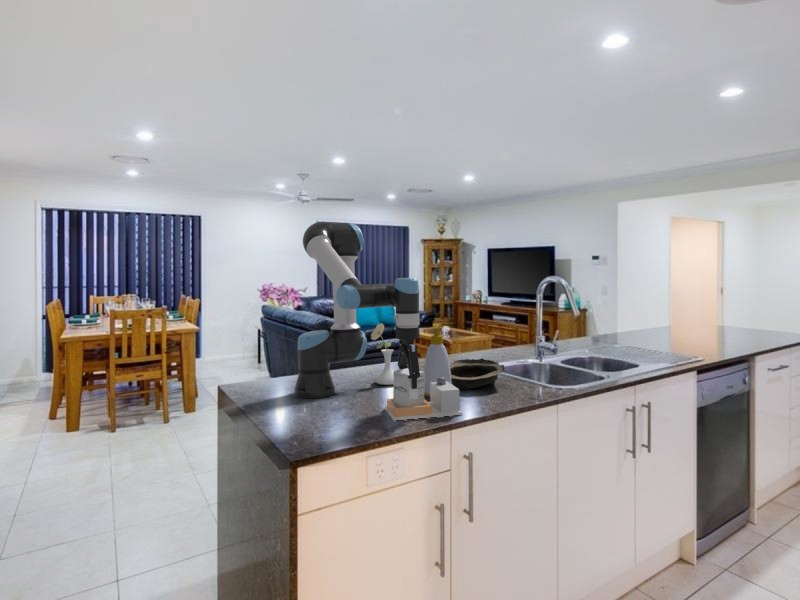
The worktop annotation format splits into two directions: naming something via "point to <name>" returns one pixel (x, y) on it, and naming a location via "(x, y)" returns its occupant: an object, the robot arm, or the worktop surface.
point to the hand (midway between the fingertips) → (408, 393)
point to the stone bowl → (474, 373)
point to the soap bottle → (436, 361)
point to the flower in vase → (387, 373)
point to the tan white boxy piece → (430, 403)
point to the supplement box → (407, 389)
